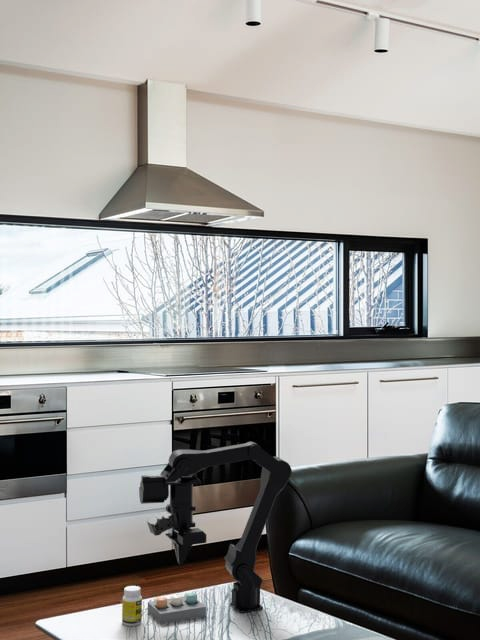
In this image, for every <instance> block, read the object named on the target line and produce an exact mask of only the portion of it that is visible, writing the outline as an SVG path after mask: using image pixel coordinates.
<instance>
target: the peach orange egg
mask: <svg viewBox="0 0 480 640" xmlns="http://www.w3.org/2000/svg"><path fill="white" fill-rule="evenodd" d="M167 599H168V598H167V597H165V596H164V597H161V596H159V597H157V598H156V599H155V601H156V607H157V608H158V609H165V608H166V607H167Z"/></svg>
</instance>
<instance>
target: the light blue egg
mask: <svg viewBox="0 0 480 640" xmlns="http://www.w3.org/2000/svg"><path fill="white" fill-rule="evenodd" d="M185 596H186V603H188V605H190V604H195V603H197V600H198V594H197V593H195V592H187V593H186V594H185Z"/></svg>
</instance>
